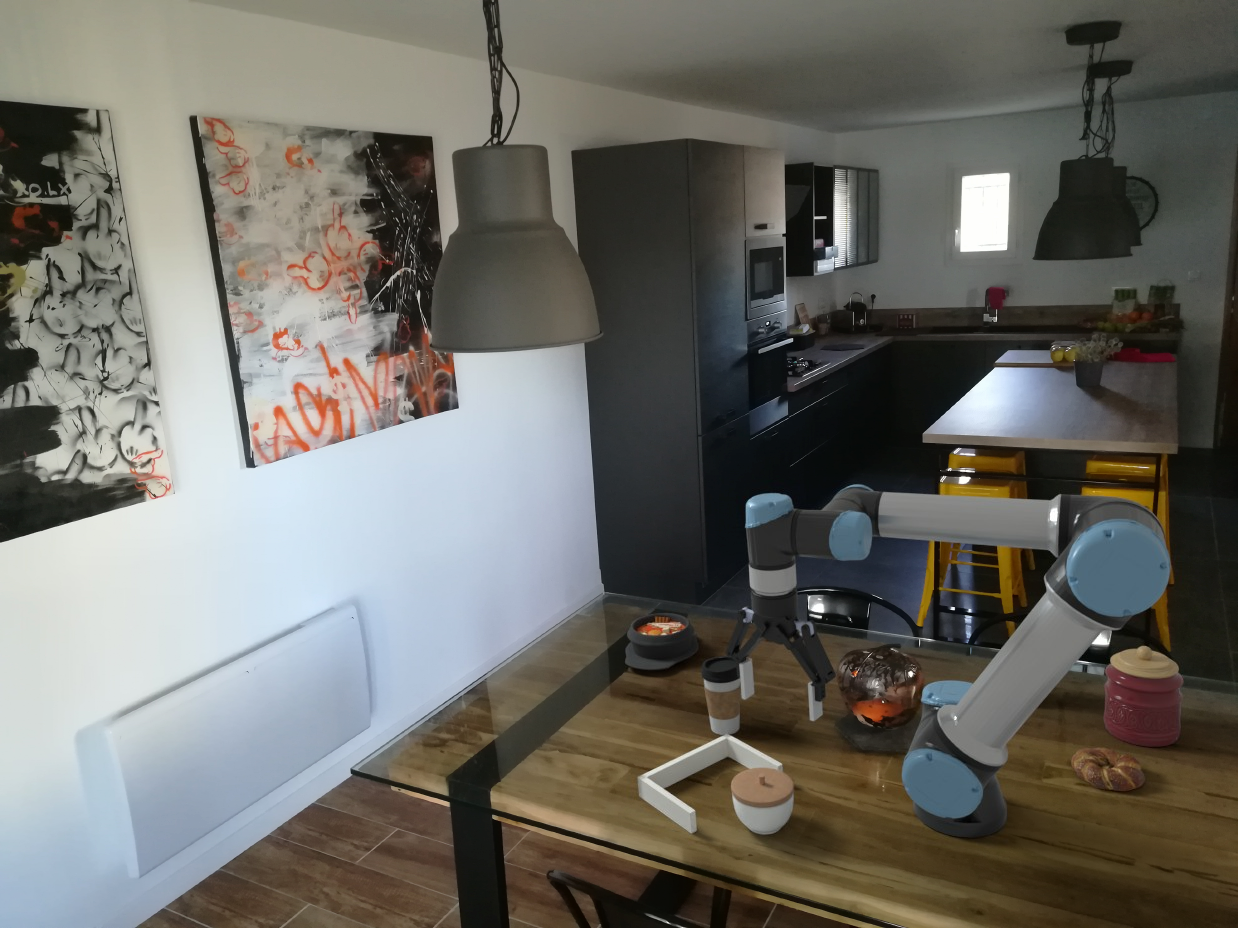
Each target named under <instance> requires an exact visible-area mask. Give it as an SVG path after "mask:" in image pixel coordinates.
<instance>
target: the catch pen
mask: <svg viewBox="0 0 1238 928" xmlns="http://www.w3.org/2000/svg"><path fill="white" fill-rule="evenodd" d="M726 758H729V759H732V760H734V761H735V762H737V763H738V764H741V765H742V766H743V767H745V768H747V769H752V768H772V769H776V770H779V771H781V772H783V773H784V771H783V770H784V767H783V763H781V762H780V761H778V760H776V759H775V758H773V757H770V756H769V755H767V754H765V753H763V752H761V751H759V750H758V749H756V748H754V747H752V746H750V745H749V744H747V743H745V742H743V741H741V740H740V739H738V738H736V737H734V736H733V735H732V734H730V735H729V734H726V735H720V737H718V738H715V739H713V740H711V741H709V742H707V743H705V744H703V745H701V746H699V747H697V748H695V749H693V750H691V751H688V752H686V753H685V754H682V755H681V756H678V757H676V758H674V759H671V760H669V761H667V762H666V763H664V764H662V765H660V766H658V767H656V768H654V769H652V770H650V771H647V772H645V773H643V774H641V775H638V776H637V785H638V787H637V788H638V796H639V798H640V799H642V800H643V801H645V802H646V803H648V804H649V805H650V806H652V807H653V808H655V809H656V810H658V811H659V812H661V813H662V814H664V815H665V816H666V817H668V818H669V819H670V820H671V821H672V822H674V823H675V824H677V825H679V826H680V827H681V828H683V830H685V831H687V832H688V833H690V834H691V835H692V834H695V832H697V830H698V829H697V818H696V817H697V816H696V810H695V809H694V808H693V807H691V806H689V804H686V803H685V802H684V801H682V800H680V799H679V798H677V797H676V796H675V795H673V794H671V792H669V791H668V790H666V788H668V787H670V786H672V785H673V784H676V783H677V782H680V781H682V780H684V779H686V778H688V777H690V776H692V775H693V774H696V773H698V772H700V771H702V770H703V769H706V768H707V767H710V766H711V765H714V764H715V763H718V762H720V761H721V760H724V759H726Z"/></svg>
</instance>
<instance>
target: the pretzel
mask: <svg viewBox="0 0 1238 928" xmlns="http://www.w3.org/2000/svg"><path fill="white" fill-rule="evenodd" d="M1070 763H1071V767H1072V769H1073V770H1074V772H1075V773H1076V776H1077V777H1078V778H1080V780H1082V781H1084V782H1086V783H1089V784H1090V785H1091V786H1092V787H1094V788H1096V789H1100V790H1105V791H1106V790H1111V791H1112V790H1113V792H1129V791H1131V790H1133V789H1135V790H1136V789H1138V788H1140V787H1141V786H1143V784H1144V783H1145V781H1146V778H1145V775H1144V773H1143V771H1142V765H1141V763H1140V761H1139V760H1137V758H1135V757H1134V756H1132V755H1128V754H1122V755H1120V754H1119V753H1118V752H1117V751H1115V750H1112V749H1109V748H1106V747H1095V748H1092V747H1091V748H1088V747H1087V748H1086V747H1085V748H1081V749H1079V750H1076V752H1075V753H1074V754H1073V755H1072V757H1071V762H1070Z"/></svg>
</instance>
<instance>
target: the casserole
mask: <svg viewBox="0 0 1238 928" xmlns="http://www.w3.org/2000/svg"><path fill="white" fill-rule="evenodd" d="M626 637H627V638H628V640H629V641H630V642H629V643H628V644H627V646H626V647H625V651H624V652H625V656H626V657H625V660H624V663H625V665H626V666H628V667H630V668H633V669H638V670H643V671H644V670H645V671H661V670H667V669H669V668H671V667H673V666H675V665H676V664H677V663H679V662H683V661H685V660H686V659H690V658H691V657H693V656H694V655H695V654H696V653H697V652H698V650H699V648H700V645H699V643H698V639H697V637H698V634H697V633H696V632H695V628H694V626H693V625H692V624H691V622H690V620H689V619H688V618H687V617H685V616H684V615H681V614H678V613H671V612H670V613H668V612H664V613H663V612H662V613H661V612H660V613H659V612H658V613H652V614H646V615H643V616H641V617H639V618H636V619H635V620H633V621H632V622H631V624H630V628H629V630H628V631H627V634H626Z"/></svg>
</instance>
